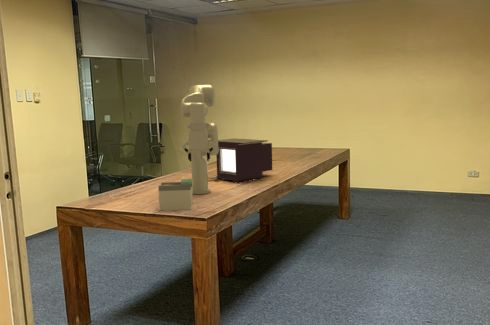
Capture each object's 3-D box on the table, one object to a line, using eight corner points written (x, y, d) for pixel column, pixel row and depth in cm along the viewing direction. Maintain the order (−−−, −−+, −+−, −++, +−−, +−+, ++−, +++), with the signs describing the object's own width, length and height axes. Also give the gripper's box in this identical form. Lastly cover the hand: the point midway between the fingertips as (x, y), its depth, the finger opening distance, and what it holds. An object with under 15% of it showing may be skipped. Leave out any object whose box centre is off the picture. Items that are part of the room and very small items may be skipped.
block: (163, 205, 244) (161, 182, 242) (193, 204, 245) (192, 181, 243) (159, 210, 232) (158, 186, 231) (191, 209, 233) (190, 185, 231)
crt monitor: (244, 184, 299) (243, 143, 296) (210, 178, 324) (209, 140, 321) (280, 177, 323) (279, 139, 320) (246, 172, 348) (245, 137, 345)
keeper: (182, 181, 241) (182, 179, 241) (191, 181, 241) (191, 178, 241) (180, 184, 232) (180, 182, 232) (190, 184, 233) (190, 181, 232)
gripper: (180, 128, 229) (181, 162, 232) (214, 127, 230) (215, 161, 232) (181, 127, 237) (183, 160, 239) (215, 126, 237) (216, 159, 240)
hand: (199, 160), depth 236 cm, fingers open, 8 cm apart
